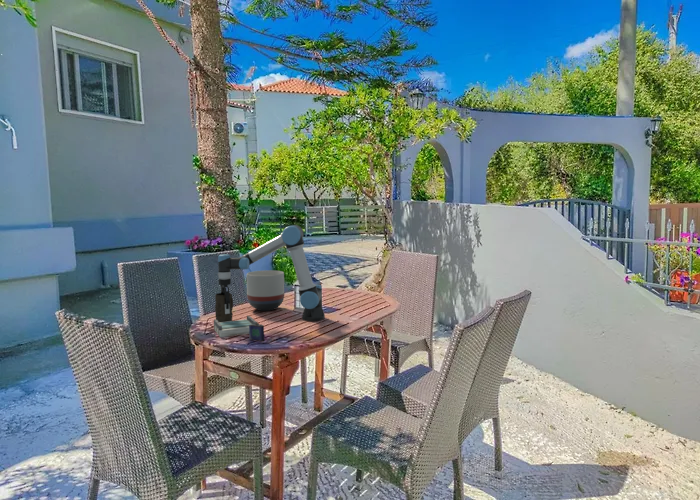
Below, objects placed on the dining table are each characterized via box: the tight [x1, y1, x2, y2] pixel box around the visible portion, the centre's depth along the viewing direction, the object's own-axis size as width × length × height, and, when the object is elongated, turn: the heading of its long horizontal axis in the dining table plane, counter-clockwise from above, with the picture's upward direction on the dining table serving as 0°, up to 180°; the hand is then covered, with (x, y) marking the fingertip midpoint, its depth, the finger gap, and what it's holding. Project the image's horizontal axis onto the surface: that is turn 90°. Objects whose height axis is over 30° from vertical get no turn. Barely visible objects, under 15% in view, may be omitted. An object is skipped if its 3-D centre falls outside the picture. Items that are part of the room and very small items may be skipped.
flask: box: [248, 321, 265, 342], centre depth 276 cm, size 9×3×11 cm, turn 72°
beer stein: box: [214, 292, 234, 322], centre depth 315 cm, size 15×11×20 cm
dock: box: [213, 315, 257, 338], centre depth 295 cm, size 20×22×6 cm
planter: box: [246, 269, 285, 312], centre depth 352 cm, size 27×27×27 cm
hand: (225, 311), depth 314 cm, fingers closed on beer stein, 11 cm apart
